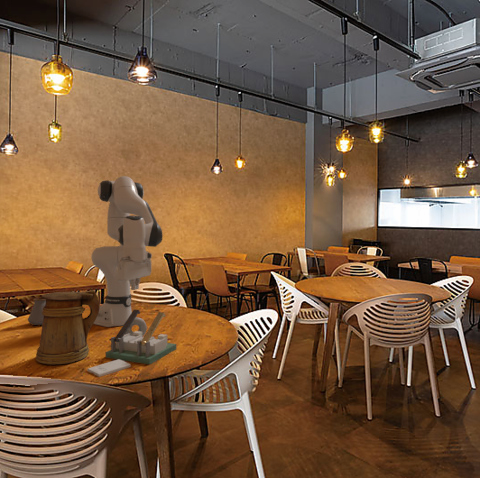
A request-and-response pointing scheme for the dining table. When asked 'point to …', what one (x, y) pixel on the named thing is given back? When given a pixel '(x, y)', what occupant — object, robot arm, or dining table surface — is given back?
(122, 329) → the dark grey long bar
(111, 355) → the board
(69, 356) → the tankard
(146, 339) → the strap brass
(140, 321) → the donut
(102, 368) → the external hard drive
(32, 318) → the coffee pot
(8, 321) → the dining table surface
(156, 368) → the dining table surface
